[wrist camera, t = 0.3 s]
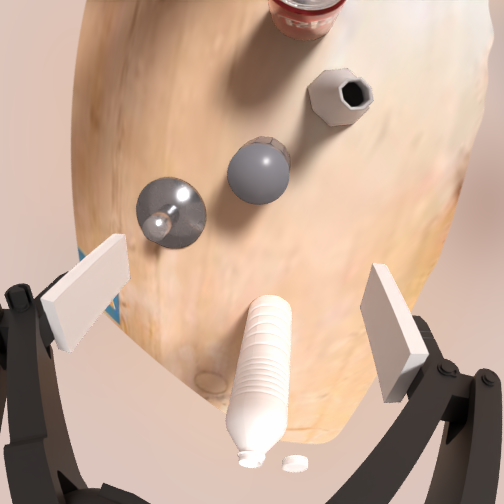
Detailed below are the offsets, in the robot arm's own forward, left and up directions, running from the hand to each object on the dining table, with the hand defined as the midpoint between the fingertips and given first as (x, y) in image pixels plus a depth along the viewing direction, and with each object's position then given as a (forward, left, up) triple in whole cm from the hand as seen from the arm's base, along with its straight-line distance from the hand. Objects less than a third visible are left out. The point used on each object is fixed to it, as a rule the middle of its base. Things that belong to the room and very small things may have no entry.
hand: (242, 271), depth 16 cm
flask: (-10, +7, -24) cm, 27 cm away
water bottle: (+21, +3, -24) cm, 32 cm away
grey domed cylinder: (-1, -1, -24) cm, 24 cm away
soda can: (-20, +2, -24) cm, 32 cm away
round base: (+7, -13, -24) cm, 28 cm away
